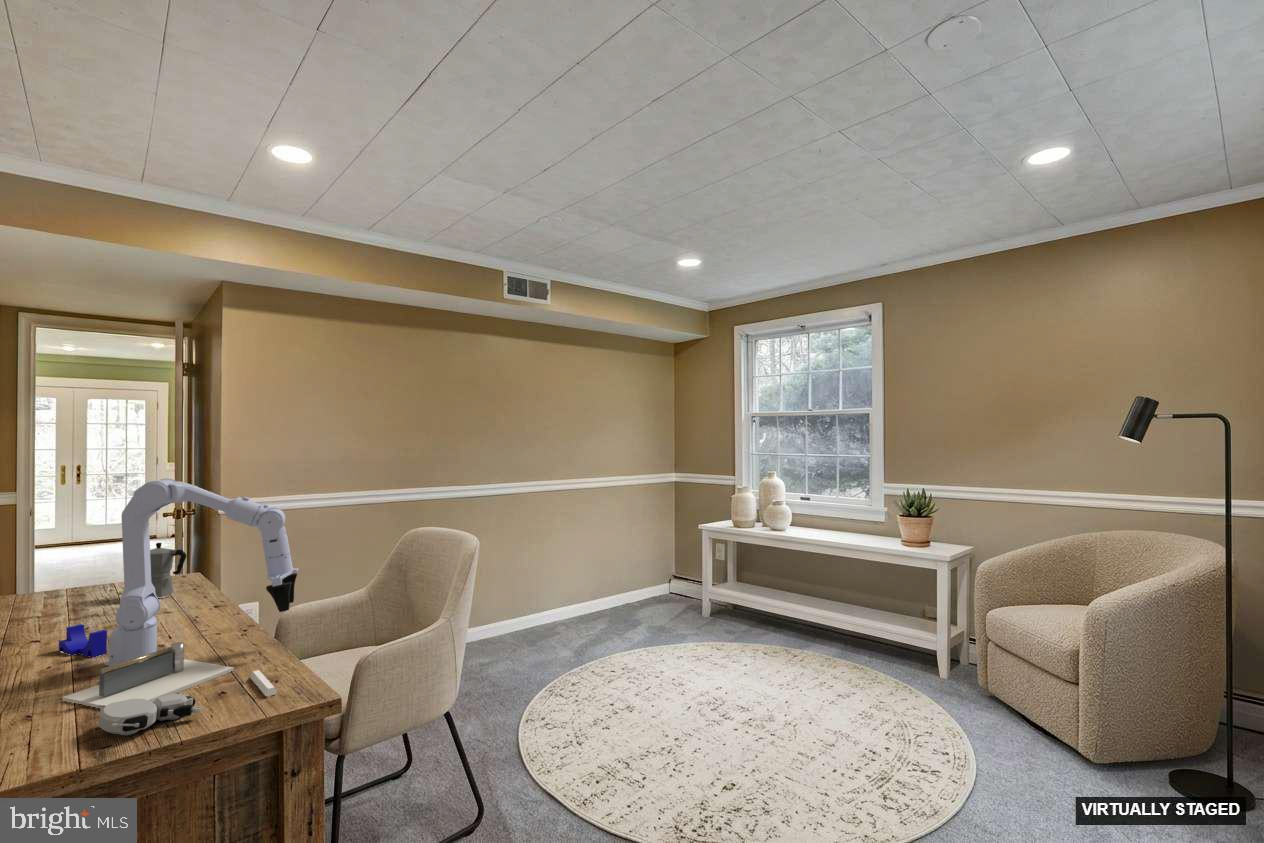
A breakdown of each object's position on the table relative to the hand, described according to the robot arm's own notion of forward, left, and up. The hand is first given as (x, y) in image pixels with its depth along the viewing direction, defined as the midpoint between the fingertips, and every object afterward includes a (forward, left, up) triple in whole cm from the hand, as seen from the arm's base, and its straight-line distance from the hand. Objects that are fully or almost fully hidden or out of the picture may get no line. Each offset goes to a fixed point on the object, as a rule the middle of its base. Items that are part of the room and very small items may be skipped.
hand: (286, 606), depth 164 cm
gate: (-8, -31, -9) cm, 33 cm away
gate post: (-8, -22, -11) cm, 26 cm away
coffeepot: (-81, +25, -11) cm, 86 cm away
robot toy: (+11, -41, -11) cm, 44 cm away
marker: (+15, -20, -11) cm, 27 cm away
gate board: (-7, -28, -11) cm, 31 cm away
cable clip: (-44, -20, -11) cm, 50 cm away
